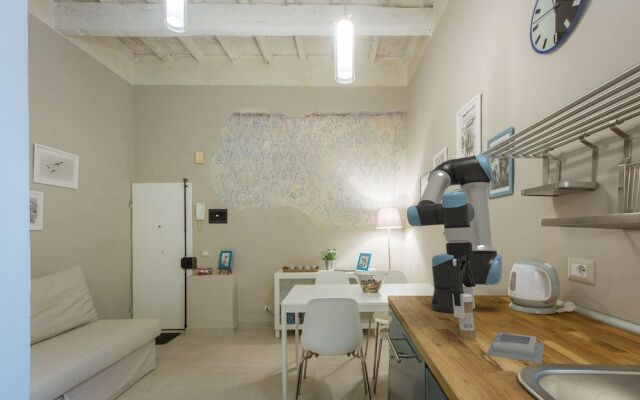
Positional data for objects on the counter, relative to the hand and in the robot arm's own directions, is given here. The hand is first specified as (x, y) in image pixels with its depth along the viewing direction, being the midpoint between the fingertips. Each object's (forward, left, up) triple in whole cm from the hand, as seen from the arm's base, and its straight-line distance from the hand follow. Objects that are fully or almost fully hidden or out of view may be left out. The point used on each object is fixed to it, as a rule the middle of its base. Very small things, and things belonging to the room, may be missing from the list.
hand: (465, 312), depth 98 cm
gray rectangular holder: (+5, +13, -8) cm, 16 cm away
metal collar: (+5, +13, -7) cm, 16 cm away
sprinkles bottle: (0, 0, -8) cm, 8 cm away
